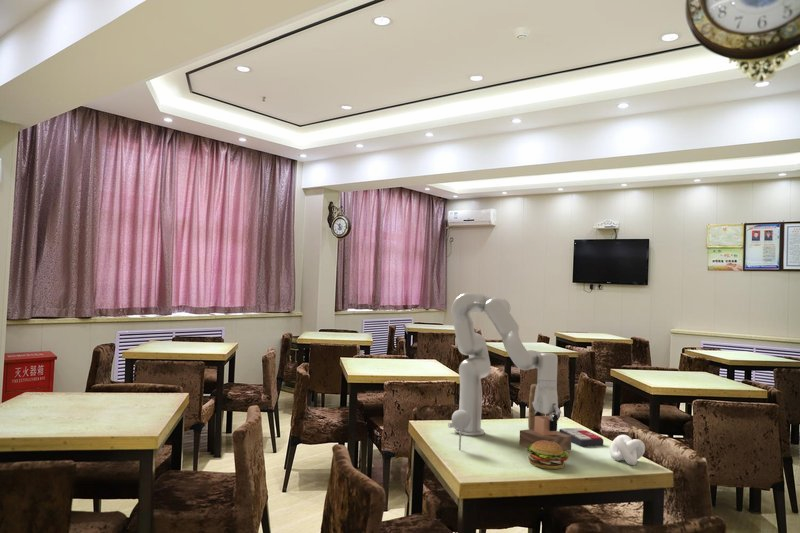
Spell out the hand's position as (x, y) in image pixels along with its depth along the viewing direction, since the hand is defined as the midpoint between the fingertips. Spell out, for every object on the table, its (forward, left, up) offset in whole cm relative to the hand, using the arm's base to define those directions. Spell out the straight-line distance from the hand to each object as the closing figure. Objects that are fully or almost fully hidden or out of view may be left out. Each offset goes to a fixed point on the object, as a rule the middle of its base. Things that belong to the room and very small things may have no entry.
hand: (545, 427), depth 205 cm
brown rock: (+14, +26, -8) cm, 31 cm away
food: (-12, -18, -8) cm, 23 cm away
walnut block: (0, 0, -8) cm, 8 cm away
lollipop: (-36, +3, -8) cm, 37 cm away
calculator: (+22, +5, -8) cm, 24 cm away
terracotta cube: (0, 0, -2) cm, 2 cm away
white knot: (+20, -21, -8) cm, 30 cm away
